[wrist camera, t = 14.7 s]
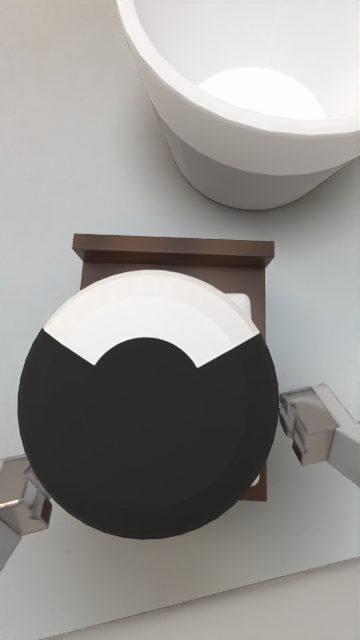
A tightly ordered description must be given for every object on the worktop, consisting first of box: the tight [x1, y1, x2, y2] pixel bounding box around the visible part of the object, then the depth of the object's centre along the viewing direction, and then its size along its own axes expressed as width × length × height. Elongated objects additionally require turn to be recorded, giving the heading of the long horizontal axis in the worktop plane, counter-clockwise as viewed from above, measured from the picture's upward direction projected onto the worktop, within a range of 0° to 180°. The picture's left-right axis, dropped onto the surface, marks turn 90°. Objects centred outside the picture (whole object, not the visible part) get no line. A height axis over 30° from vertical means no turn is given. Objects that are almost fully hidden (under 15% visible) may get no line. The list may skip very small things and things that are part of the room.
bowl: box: [115, 0, 360, 210], centre depth 20 cm, size 19×19×11 cm
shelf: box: [72, 234, 274, 501], centre depth 19 cm, size 12×15×6 cm
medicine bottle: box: [18, 270, 279, 540], centre depth 12 cm, size 7×7×12 cm
